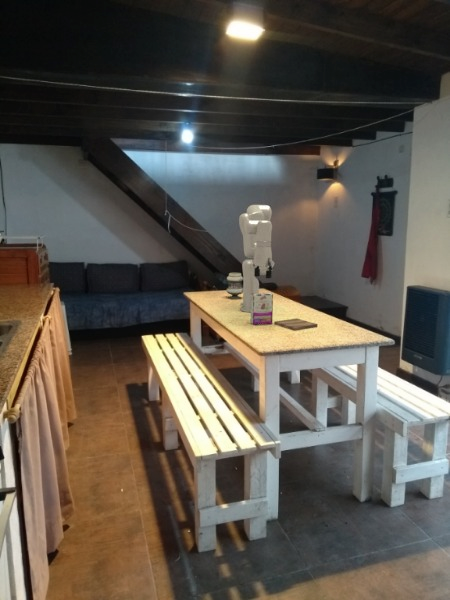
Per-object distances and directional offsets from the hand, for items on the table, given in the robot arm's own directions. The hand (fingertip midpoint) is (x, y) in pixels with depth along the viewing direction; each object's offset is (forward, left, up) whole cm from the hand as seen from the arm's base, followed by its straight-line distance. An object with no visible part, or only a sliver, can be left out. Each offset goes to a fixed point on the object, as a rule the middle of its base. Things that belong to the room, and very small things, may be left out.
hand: (262, 277), depth 233 cm
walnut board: (+13, +13, -25) cm, 31 cm away
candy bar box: (0, 0, -25) cm, 25 cm away
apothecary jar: (-71, +32, -25) cm, 82 cm away
